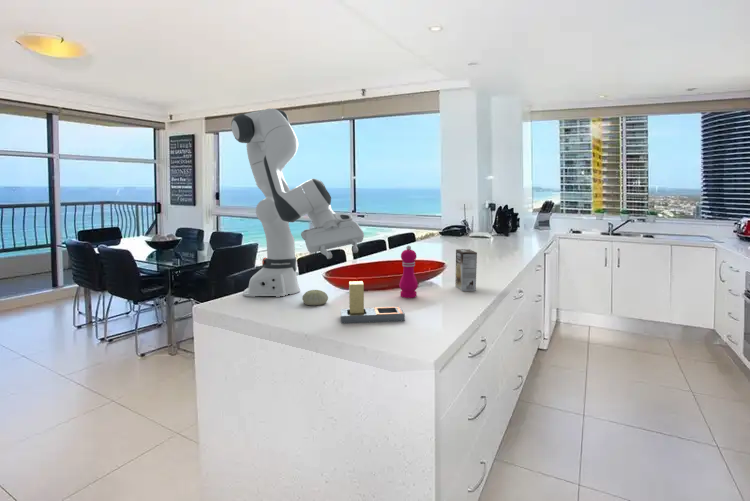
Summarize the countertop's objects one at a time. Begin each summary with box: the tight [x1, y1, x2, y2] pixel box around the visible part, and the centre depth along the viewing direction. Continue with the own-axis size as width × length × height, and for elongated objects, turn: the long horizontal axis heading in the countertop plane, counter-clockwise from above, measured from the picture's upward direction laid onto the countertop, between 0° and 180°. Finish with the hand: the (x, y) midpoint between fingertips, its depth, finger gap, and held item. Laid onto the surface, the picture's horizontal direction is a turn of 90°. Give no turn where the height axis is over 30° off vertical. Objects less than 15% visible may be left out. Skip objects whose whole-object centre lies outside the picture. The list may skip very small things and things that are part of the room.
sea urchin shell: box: [302, 289, 329, 306], centre depth 160 cm, size 9×8×8 cm
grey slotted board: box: [340, 306, 406, 324], centre depth 141 cm, size 20×8×3 cm, turn 96°
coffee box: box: [455, 248, 478, 292], centre depth 181 cm, size 9×6×16 cm
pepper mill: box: [398, 245, 419, 299], centre depth 169 cm, size 7×7×20 cm
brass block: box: [348, 280, 365, 315], centre depth 139 cm, size 4×4×12 cm
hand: (343, 254), depth 144 cm, fingers open, 8 cm apart
